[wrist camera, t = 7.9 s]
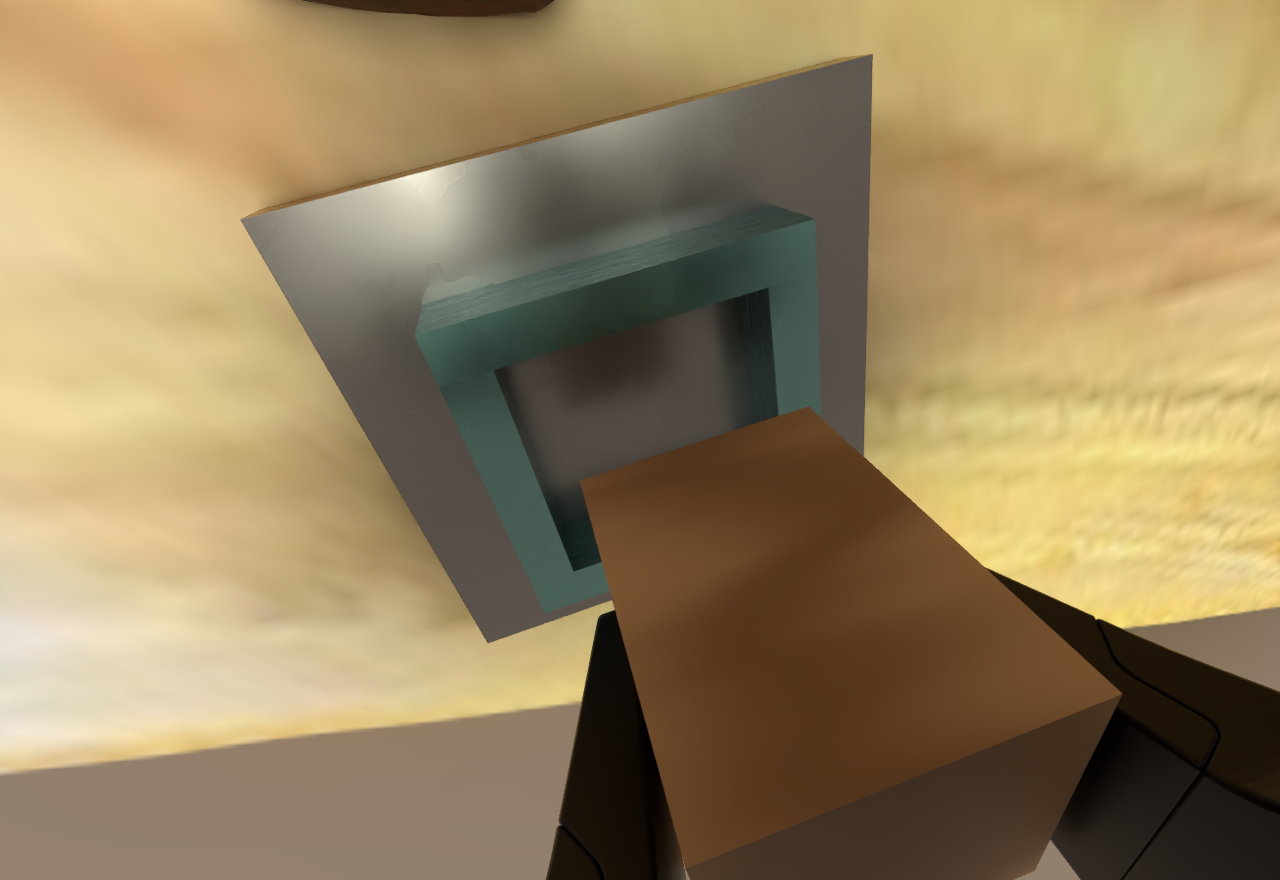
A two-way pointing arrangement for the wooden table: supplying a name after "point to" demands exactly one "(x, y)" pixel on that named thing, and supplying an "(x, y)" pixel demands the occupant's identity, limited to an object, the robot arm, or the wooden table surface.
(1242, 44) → the wooden table surface
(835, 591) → the walnut peg
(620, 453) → the socket plate
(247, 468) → the wooden table surface
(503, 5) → the bolt
